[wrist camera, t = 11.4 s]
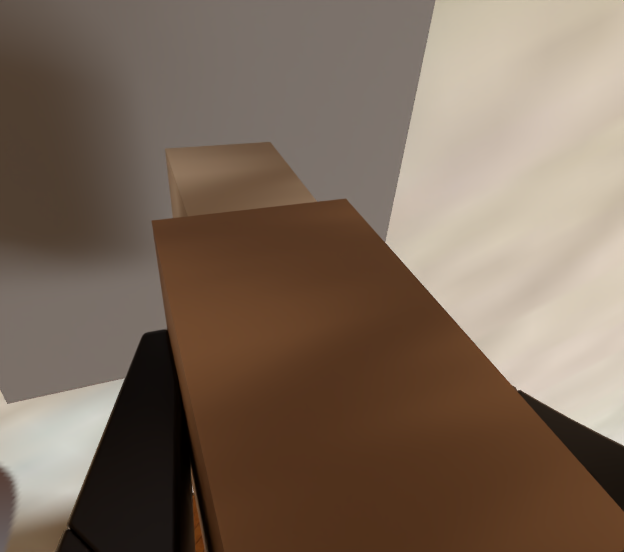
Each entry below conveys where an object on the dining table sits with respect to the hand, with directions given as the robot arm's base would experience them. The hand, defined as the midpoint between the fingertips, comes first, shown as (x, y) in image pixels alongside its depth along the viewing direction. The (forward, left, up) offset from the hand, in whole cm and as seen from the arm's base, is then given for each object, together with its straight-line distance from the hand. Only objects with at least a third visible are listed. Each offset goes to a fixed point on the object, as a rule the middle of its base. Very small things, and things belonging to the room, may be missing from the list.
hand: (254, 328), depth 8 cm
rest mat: (0, 0, -6) cm, 6 cm away
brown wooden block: (0, 0, -2) cm, 2 cm away
